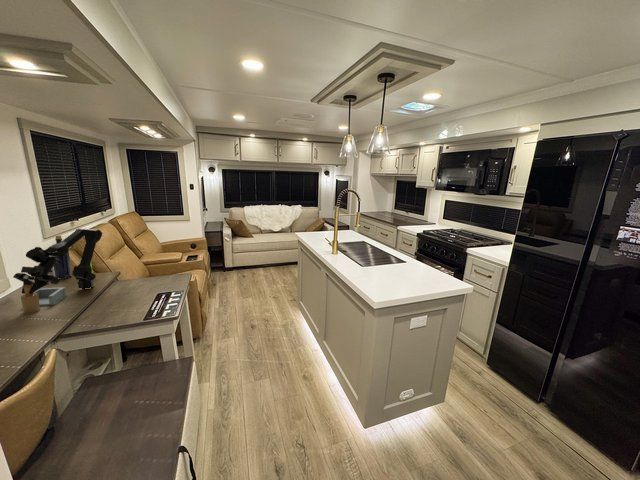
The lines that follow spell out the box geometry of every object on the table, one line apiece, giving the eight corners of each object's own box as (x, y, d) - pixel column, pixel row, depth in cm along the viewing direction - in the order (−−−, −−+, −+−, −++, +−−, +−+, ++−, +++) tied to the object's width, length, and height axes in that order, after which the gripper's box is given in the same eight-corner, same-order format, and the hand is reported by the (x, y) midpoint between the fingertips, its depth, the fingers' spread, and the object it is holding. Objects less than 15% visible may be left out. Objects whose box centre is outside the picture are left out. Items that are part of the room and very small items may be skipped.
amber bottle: (42, 308, 141) (39, 282, 138) (35, 313, 135) (31, 286, 132) (28, 309, 138) (24, 282, 135) (20, 314, 133) (15, 287, 130)
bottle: (60, 280, 177) (55, 237, 171) (50, 278, 179) (44, 235, 173) (75, 275, 186) (71, 235, 180) (65, 274, 187) (60, 233, 181)
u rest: (37, 297, 151) (36, 288, 150) (66, 295, 156) (65, 287, 155) (23, 307, 140) (21, 297, 139) (54, 305, 145) (53, 295, 143)
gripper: (14, 258, 135) (-9, 286, 126) (51, 260, 135) (31, 288, 127) (32, 268, 144) (12, 294, 136) (66, 270, 145) (49, 297, 136)
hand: (26, 293), depth 133 cm, fingers closed on amber bottle, 3 cm apart
